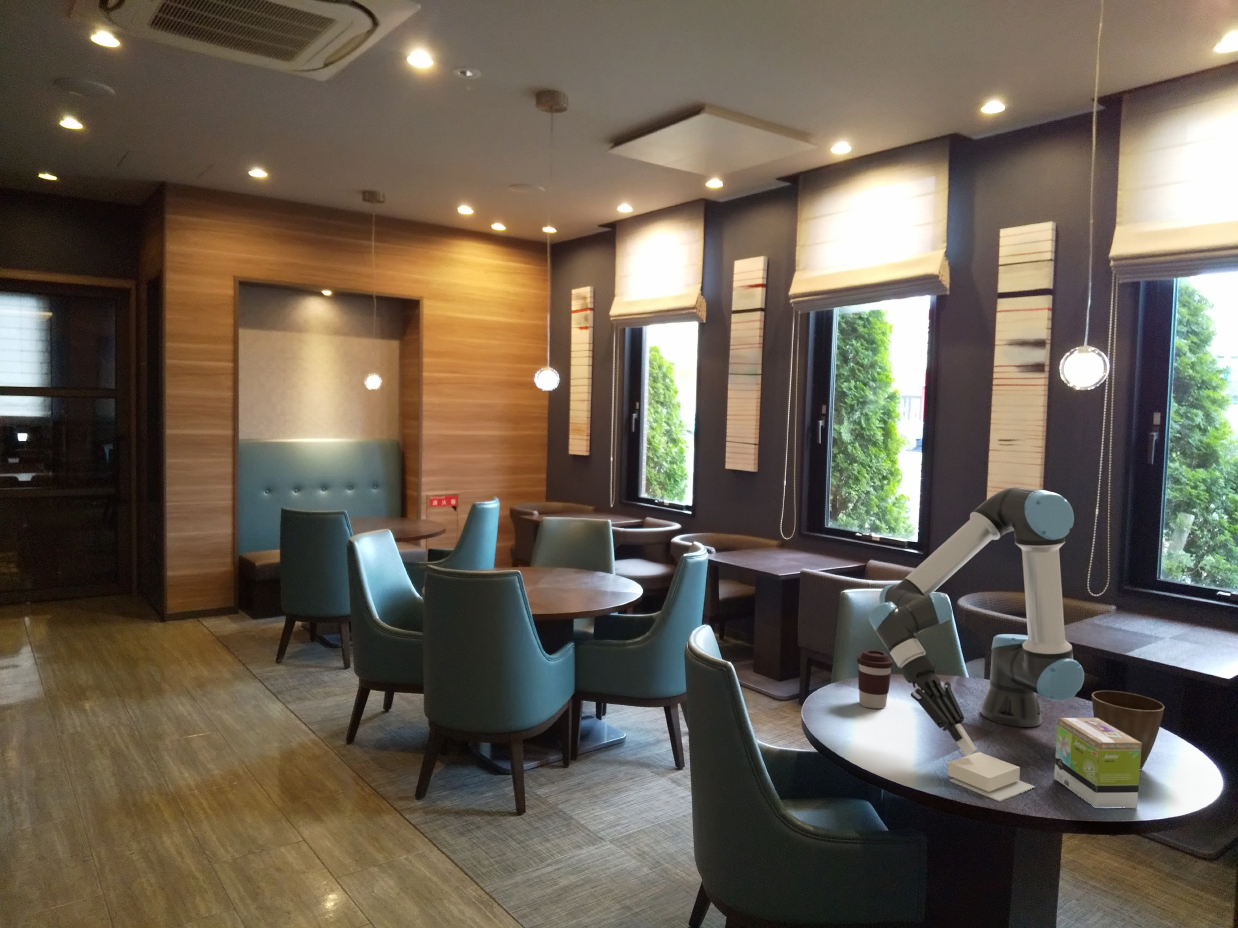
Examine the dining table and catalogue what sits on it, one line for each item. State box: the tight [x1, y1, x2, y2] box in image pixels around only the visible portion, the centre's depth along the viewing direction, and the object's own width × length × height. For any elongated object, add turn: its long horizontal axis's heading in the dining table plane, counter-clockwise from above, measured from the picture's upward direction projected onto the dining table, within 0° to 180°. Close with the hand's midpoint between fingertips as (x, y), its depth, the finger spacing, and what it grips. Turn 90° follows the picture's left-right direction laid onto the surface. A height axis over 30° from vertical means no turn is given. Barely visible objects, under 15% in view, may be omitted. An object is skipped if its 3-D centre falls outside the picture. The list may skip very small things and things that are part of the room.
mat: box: [949, 777, 1036, 803], centre depth 189 cm, size 14×12×1 cm
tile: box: [947, 751, 1021, 792], centre depth 190 cm, size 12×3×10 cm
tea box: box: [1053, 717, 1142, 809], centre depth 185 cm, size 15×10×15 cm
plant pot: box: [1091, 690, 1165, 770], centre depth 202 cm, size 15×15×16 cm
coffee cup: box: [856, 649, 895, 710], centre depth 240 cm, size 10×10×15 cm
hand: (971, 752), depth 193 cm, fingers closed
